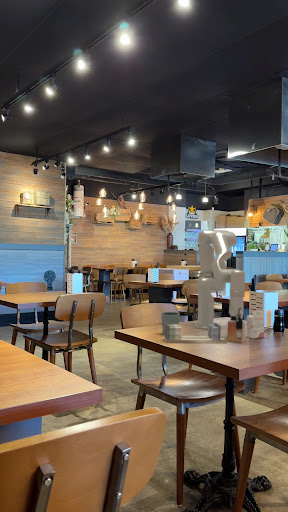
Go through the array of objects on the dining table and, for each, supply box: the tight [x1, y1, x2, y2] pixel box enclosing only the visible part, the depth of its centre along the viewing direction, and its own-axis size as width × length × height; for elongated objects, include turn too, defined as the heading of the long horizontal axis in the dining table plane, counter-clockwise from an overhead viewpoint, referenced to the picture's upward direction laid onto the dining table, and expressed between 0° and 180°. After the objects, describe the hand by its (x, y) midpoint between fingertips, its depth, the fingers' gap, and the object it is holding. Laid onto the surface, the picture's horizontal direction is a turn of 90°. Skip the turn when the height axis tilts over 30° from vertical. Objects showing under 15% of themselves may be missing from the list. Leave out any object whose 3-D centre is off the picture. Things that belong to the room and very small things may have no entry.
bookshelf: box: [163, 322, 228, 345], centre depth 216 cm, size 11×30×9 cm, turn 96°
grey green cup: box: [160, 311, 181, 336], centre depth 232 cm, size 10×10×12 cm
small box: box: [226, 319, 246, 344], centre depth 219 cm, size 8×6×10 cm
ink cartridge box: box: [246, 310, 265, 339], centre depth 231 cm, size 9×5×15 cm, turn 117°
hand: (236, 327), depth 219 cm, fingers closed on small box, 8 cm apart
